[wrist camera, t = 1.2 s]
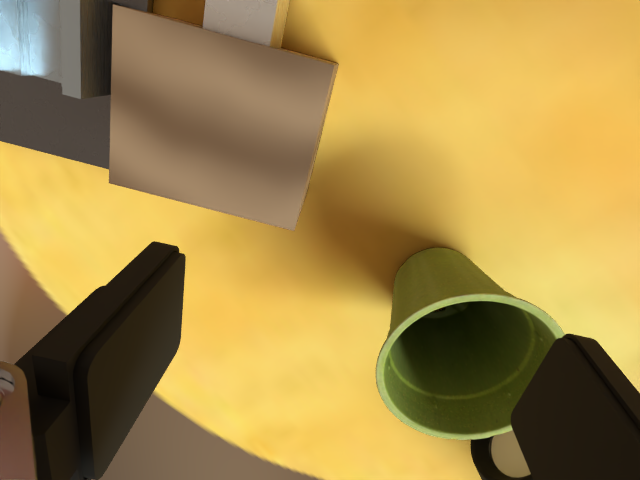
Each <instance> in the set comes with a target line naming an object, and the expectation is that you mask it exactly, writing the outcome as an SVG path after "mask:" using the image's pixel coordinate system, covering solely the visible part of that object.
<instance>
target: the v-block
mask: <svg viewBox="0 0 640 480" xmlns="http://www.w3.org/2000/svg"><path fill="white" fill-rule="evenodd" d="M113 4H114V5H118V6H123V7H127V8H131V9H136V10H140V11H144V12H149V13H153V0H0V141H2V142H6V143H10V144H14V145H18V146H22V147H25V148H29V149H33V150H37V151H41V152H45V153H48V154H52V155H56V156H60V157H64V158H68V159H72V160H75V161H79V162H83V163H87V164H91V165H95V166H98V167H102V168H106V169H109V160H110V112H111V64H112V17H113Z"/></svg>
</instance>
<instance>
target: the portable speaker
mask: <svg viewBox="0 0 640 480" xmlns="http://www.w3.org/2000/svg"><path fill="white" fill-rule="evenodd" d="M471 454H472V458H473V462H474V464H475V466H476V468H477V470H478V473H479V475H480V477H481V479H482V480H533V478H532V476H531V473H530V471H529V468H528V466H527V463H526V461H525V459H524V456H523V454H522V451H521V449H520V446H519V444H518V441H517V439H516V437H515V434H514V432H513V430H511V431H509V432H506V433H502V434H499V435H494V436H491V437H488V438H482V439H471Z"/></svg>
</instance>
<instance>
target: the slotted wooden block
mask: <svg viewBox="0 0 640 480" xmlns="http://www.w3.org/2000/svg"><path fill="white" fill-rule="evenodd" d="M338 65H339V64H338V63H334V62H331V61H327V60H323V59H320V58H316V57H313V56H309V55H305V54H302V53H298V52H294V51H291V50H287V49H284V48H281V49H277V48H272V47H268V46H265V45H261V44H258V43H254V42H250V41H247V40H243V39H239V38H236V37H232V36H229V35H225V34H221V33H218V32H214V31H210V30H207V29H203V26H200V25H197V24H193V23H189V22H186V21H182V20H179V19H175V18H171V17H166V16H162V15H158V14H153V13H149V12H144V11H140V10H136V9H131V8H127V7H123V6H118V5H114V4H113V17H112V64H111V112H110V160H109V183H111V184H114V185H118V186H122V187H126V188H130V189H134V190H138V191H142V192H145V193H149V194H153V195H157V196H161V197H165V198H169V199H172V200H176V201H180V202H184V203H188V204H192V205H196V206H199V207H203V208H207V209H211V210H215V211H219V212H223V213H226V214H230V215H234V216H238V217H242V218H246V219H250V220H253V221H257V222H261V223H265V224H269V225H273V226H277V227H281V228H284V229H288V230H292V231H294V230H295V227H296V224H297V221H298V218H299V215H300V212H301V209H302V206H303V203H304V200H305V197H306V194H307V190H308V186H309V182H310V178H311V174H312V170H313V166H314V162H315V158H316V154H317V150H318V146H319V142H320V138H321V134H322V130H323V126H324V122H325V118H326V114H327V109H328V105H329V101H330V97H331V93H332V89H333V85H334V81H335V77H336V73H337V69H338Z"/></svg>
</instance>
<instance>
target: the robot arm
mask: <svg viewBox="0 0 640 480" xmlns="http://www.w3.org/2000/svg"><path fill="white" fill-rule="evenodd" d="M184 276H185V255H184V254H182V253H179V248H178V247H177V246H173V245H169V244H164V243H160V242H152V243H151V244H149V245H148V246H147V247H146V248H145V249H144V250H143V251H142V252H141V253H140V254H139V255H138V256H137V257H136V258H134V259H133V260H132V261H131V262H130V263H129V264H128V265H127V266H126V267H125V268H124V269H123V270H122V271H121V272H120V273H118V274H117V275H116V276H115V277H114V278H113V279H112V280H111V281H110V282H109V283H108V284H107V285H106V286H101V287H99V288H98V289H96V290H95V291H94V292H93V293H91V294H90V295H89V296H88V297H87V298H86V299H85V300H84V301H83V302H82V303H81V304H79V305H78V306H77V307H76V308H75V309H74V310H73V311H72V312H71V313H70V314H69V315H67V316H66V317H65V318H64V319H63V320H62V321H61V322H60V323H59V324H58V325H57V326H55V327H54V328H53V329H52V330H51V331H50V332H49V333H48V334H47V335H46V336H45V337H43V339H42V340H40V341H39V342H38V343H37V344H36V345H35V346H34V347H33V348H32V349H30V350H29V351H28V352H27V353H26V354H25V355H24V356H23V357H22V358H20V359H19V360H18V361H17V362H16V363H15V364H11V363H7V362H4V361H0V480H91V479H95V480H98V479H100V478H101V477H102V476H103V474H104V472H105V471H106V469H107V468H108V466H109V464H110V463H111V461H112V459H113V458H114V456H115V454H116V453H117V451H118V449H119V448H120V446H121V444H122V443H123V441H124V439H125V438H126V436H127V434H128V433H129V431H130V429H131V428H132V426H133V424H134V423H135V421H136V419H137V418H138V416H139V414H140V412H141V411H142V409H143V408H144V406H145V404H146V402H147V401H148V399H149V397H150V396H151V394H152V393H153V391H154V389H155V388H156V386H157V384H158V383H159V381H160V379H161V378H162V376H163V374H164V373H165V371H166V369H167V368H168V366H169V364H170V363H171V361H172V359H173V358H174V356H175V354H176V352H177V350H178V348H179V344H180V339H181V325H182V309H183V293H184ZM511 426H512V429H513V432H514V434H515V437H516V439H517V441H518V444H519V446H520V449H521V451H522V454H523V456H524V459H525V461H526V463H527V466H528V468H529V471H530V473H531V476H532V478H533V480H640V393H639V392H638V391H637V390H636V388H635V387H634V386H633V385H632V383H631V382H630V381H629V380H628V379H627V377H626V376H625V375H624V374H623V372H622V371H621V370H620V369H619V368H618V366H617V365H616V364H615V363H614V362H613V360H612V359H611V358H610V357H609V355H608V354H607V353H606V352H605V351H604V349H603V348H602V347H601V346H600V344H599V343H598V342H597V341H596V340H594V339H591V338H587V337H583V336H578V335H574V334H566V335H564V336H563V337H562V338H558V339H556V340H555V341H554V343H553V344H552V346H551V348H550V349H549V351H548V353H547V354H546V356H545V358H544V359H543V361H542V363H541V364H540V366H539V368H538V369H537V371H536V373H535V374H534V376H533V378H532V379H531V381H530V383H529V384H528V386H527V388H526V389H525V391H524V393H523V394H522V396H521V398H520V399H519V401H518V403H517V404H516V406H515V407H514V409H513V411H512V413H511Z"/></svg>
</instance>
